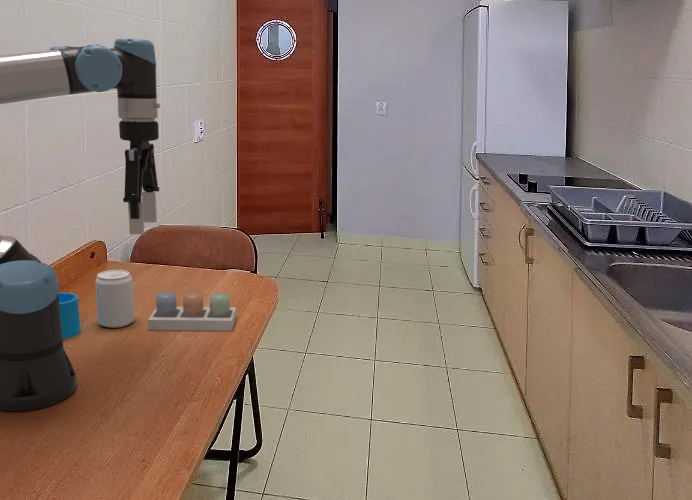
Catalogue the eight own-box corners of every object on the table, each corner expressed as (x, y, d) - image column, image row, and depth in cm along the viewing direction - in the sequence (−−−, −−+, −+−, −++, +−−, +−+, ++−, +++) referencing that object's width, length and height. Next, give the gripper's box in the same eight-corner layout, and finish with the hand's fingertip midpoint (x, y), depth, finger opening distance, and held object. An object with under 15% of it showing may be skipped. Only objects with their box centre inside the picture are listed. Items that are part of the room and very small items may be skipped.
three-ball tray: (232, 330, 152) (231, 320, 151) (148, 330, 151) (148, 319, 150) (236, 317, 160) (236, 307, 160) (157, 316, 159) (157, 306, 159)
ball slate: (174, 313, 152) (174, 298, 151) (154, 313, 152) (153, 298, 151) (178, 307, 157) (178, 292, 156) (159, 306, 156) (158, 291, 155)
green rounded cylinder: (228, 314, 153) (228, 298, 152) (208, 314, 153) (208, 298, 152) (230, 307, 157) (230, 292, 156) (211, 307, 157) (211, 292, 156)
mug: (72, 340, 144) (70, 304, 142) (35, 339, 144) (31, 304, 142) (91, 320, 156) (88, 287, 154) (56, 319, 155) (53, 287, 153)
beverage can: (90, 324, 153) (87, 275, 150) (117, 314, 160) (114, 267, 157) (115, 331, 149) (112, 281, 146) (142, 320, 156) (139, 272, 153)
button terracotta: (201, 314, 152) (201, 298, 152) (181, 313, 152) (181, 298, 151) (204, 307, 157) (204, 292, 156) (185, 307, 157) (184, 292, 156)
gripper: (143, 124, 121) (149, 241, 126) (169, 117, 143) (173, 216, 148) (102, 123, 120) (109, 240, 126) (134, 116, 142) (139, 216, 148)
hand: (143, 227), depth 137 cm, fingers open, 10 cm apart
